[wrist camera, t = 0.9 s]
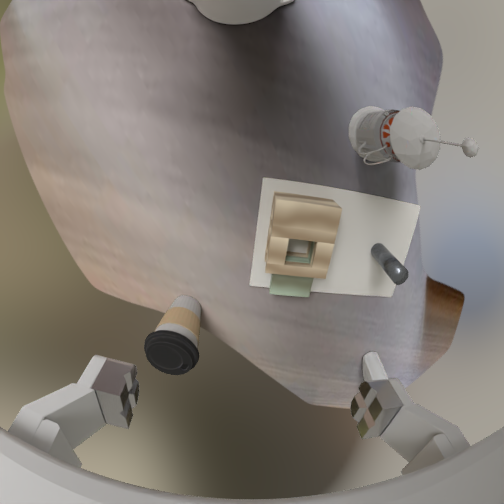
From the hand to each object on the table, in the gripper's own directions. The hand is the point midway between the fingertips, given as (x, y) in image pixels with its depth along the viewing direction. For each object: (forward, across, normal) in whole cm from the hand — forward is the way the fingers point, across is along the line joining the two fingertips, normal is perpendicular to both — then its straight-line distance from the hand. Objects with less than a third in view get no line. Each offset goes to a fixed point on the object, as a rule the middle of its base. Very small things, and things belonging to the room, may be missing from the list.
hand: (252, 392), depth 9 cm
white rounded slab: (+42, -38, +34) cm, 66 cm away
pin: (+38, -26, +4) cm, 46 cm away
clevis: (+39, -10, +4) cm, 40 cm away
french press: (+37, -20, -16) cm, 45 cm away
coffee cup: (+42, +8, +22) cm, 48 cm away
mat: (+39, -19, +4) cm, 43 cm away
